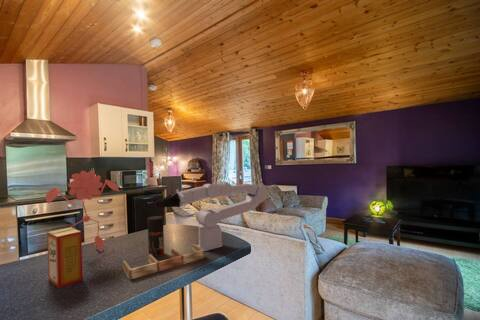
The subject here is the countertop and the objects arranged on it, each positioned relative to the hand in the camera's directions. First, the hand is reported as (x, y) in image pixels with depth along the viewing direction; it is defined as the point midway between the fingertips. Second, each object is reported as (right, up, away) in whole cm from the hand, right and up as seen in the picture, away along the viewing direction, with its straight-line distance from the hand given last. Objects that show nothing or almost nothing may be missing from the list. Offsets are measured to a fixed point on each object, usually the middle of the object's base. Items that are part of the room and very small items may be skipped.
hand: (157, 204), depth 96 cm
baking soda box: (-25, -22, -16) cm, 36 cm away
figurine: (-30, -22, +5) cm, 37 cm away
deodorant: (-2, -21, +3) cm, 21 cm away
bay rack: (+5, -21, -5) cm, 22 cm away
